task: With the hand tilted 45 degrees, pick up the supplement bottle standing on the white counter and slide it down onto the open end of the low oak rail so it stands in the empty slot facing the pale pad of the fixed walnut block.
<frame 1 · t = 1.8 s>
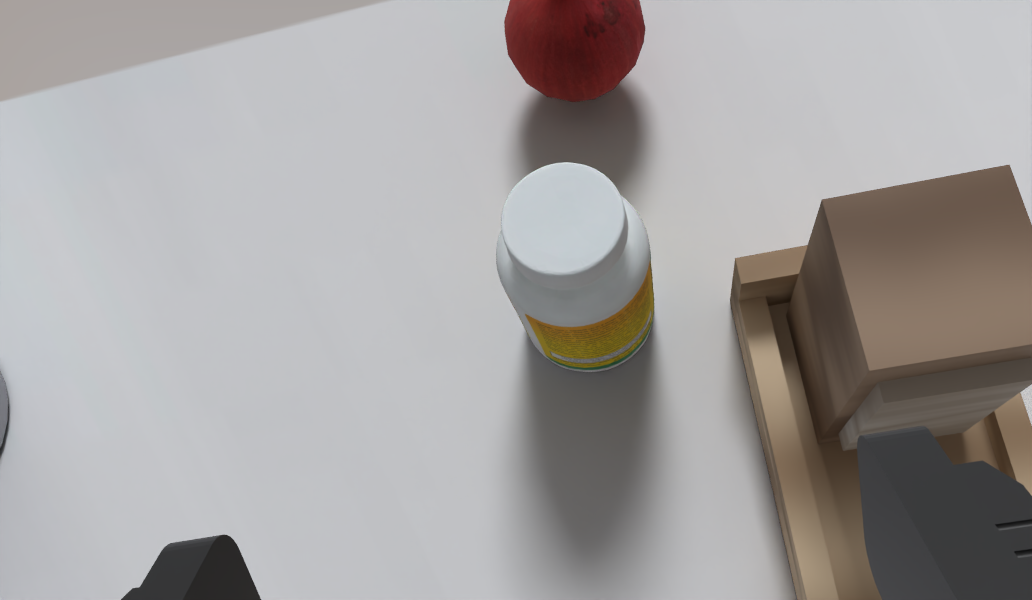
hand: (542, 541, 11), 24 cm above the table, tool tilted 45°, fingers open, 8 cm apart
onion: (584, 81, 41), on the table
supplement bottle: (591, 315, 37), on the table
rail: (891, 481, 33), on the table
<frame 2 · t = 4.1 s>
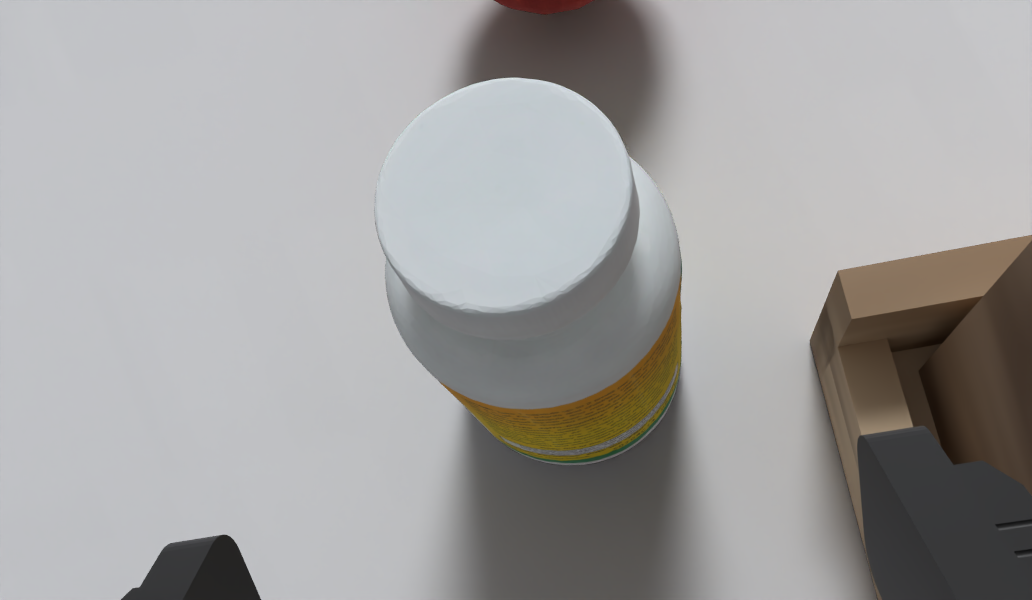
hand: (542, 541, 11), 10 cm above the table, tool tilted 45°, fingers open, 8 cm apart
supplement bottle: (574, 365, 22), on the table
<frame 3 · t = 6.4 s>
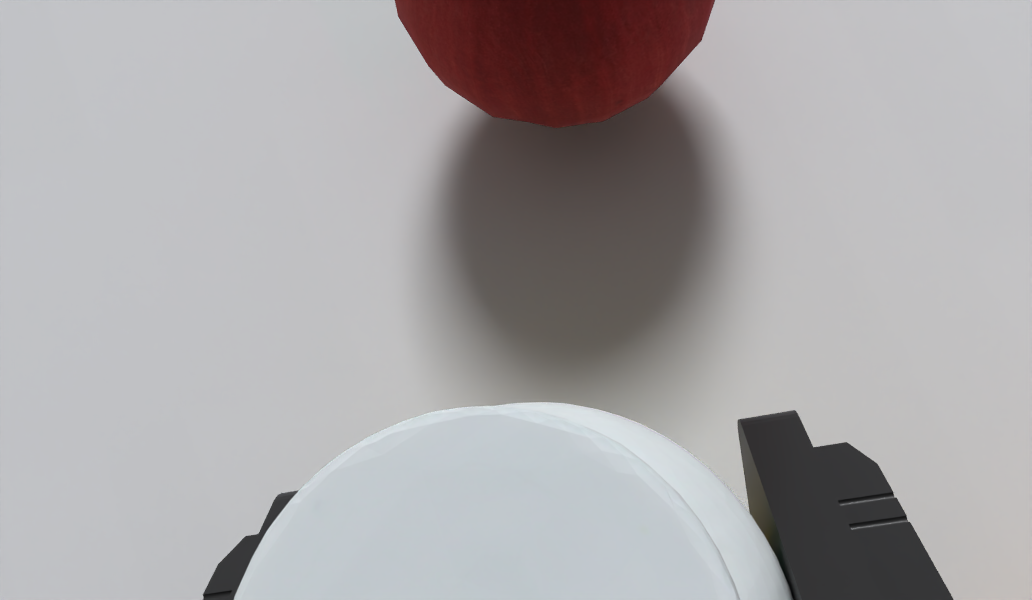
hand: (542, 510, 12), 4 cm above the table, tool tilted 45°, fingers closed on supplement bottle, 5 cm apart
onion: (580, 82, 19), on the table
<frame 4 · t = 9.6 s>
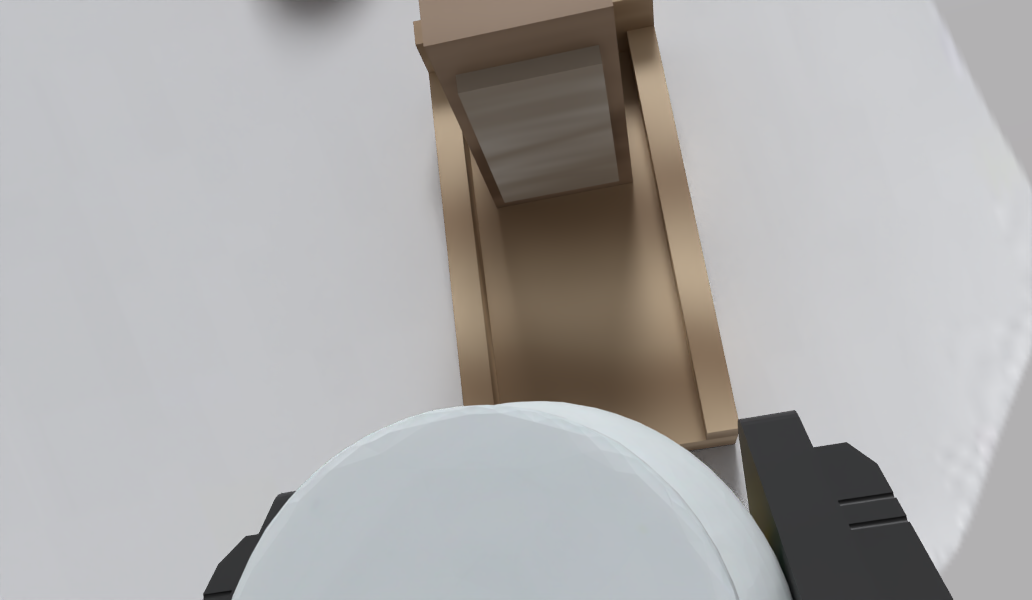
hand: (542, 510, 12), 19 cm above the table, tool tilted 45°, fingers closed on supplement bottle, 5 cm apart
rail: (575, 249, 33), on the table
when the fingers open (6 cm above the table, at t = 13.2 s): supplement bottle stays where it is, resting on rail.
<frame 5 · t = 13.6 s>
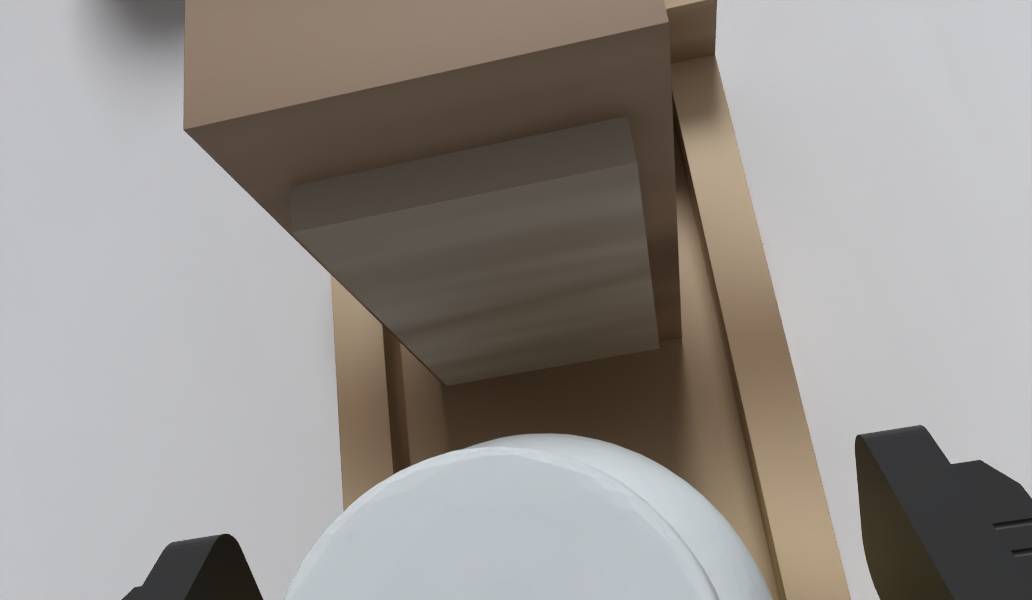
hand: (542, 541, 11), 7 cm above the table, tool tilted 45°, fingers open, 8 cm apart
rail: (578, 446, 19), on the table
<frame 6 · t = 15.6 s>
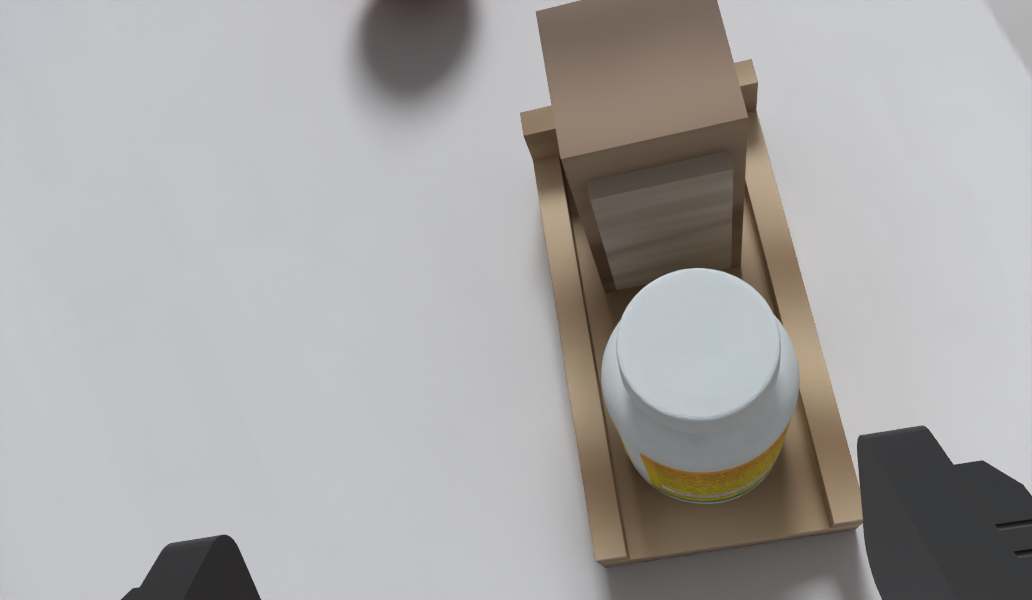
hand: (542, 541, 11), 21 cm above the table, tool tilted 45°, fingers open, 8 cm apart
supplement bottle: (702, 429, 31), point 1 cm above the table, touching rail
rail: (681, 330, 34), on the table
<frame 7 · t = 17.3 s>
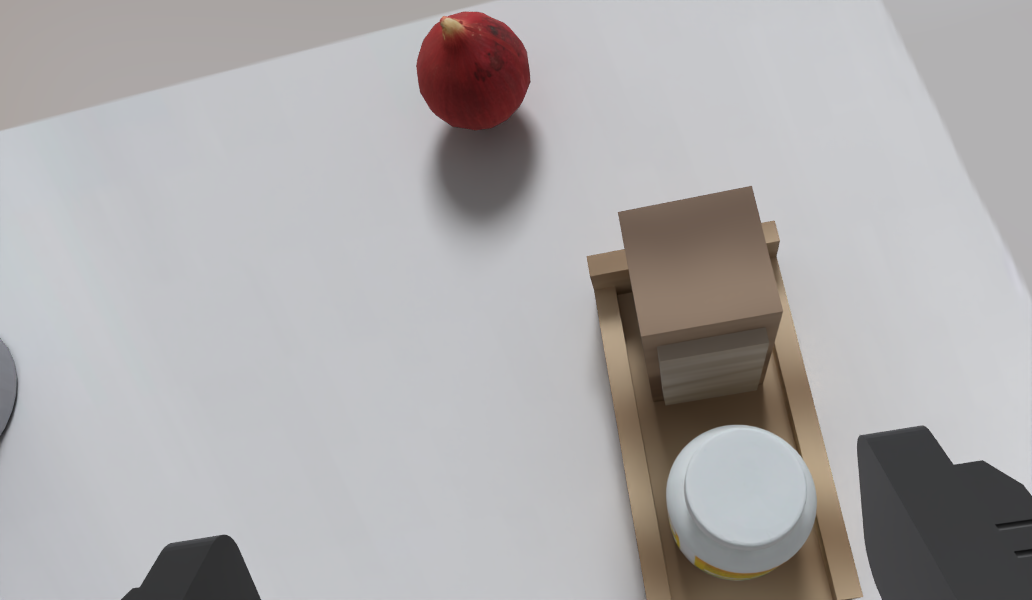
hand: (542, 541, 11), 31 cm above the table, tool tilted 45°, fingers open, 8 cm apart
onion: (489, 112, 50), on the table
supplement bottle: (732, 518, 39), point 1 cm above the table, touching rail
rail: (713, 432, 42), on the table
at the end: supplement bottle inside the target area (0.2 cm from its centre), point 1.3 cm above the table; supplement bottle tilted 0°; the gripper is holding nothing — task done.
